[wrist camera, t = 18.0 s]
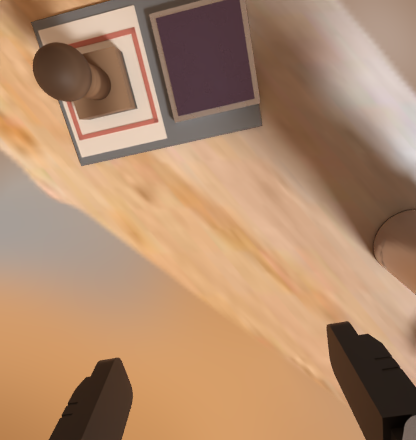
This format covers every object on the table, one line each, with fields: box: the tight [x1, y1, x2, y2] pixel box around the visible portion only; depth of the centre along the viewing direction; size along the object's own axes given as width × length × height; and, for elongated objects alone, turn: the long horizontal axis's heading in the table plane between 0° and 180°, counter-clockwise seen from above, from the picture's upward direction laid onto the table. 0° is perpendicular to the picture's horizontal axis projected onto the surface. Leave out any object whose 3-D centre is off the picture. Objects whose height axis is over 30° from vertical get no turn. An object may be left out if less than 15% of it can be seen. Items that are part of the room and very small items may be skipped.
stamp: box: [33, 42, 138, 120], centre depth 28 cm, size 6×6×12 cm
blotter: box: [31, 0, 262, 166], centre depth 33 cm, size 23×16×1 cm
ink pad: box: [149, 0, 260, 123], centre depth 32 cm, size 10×11×2 cm
